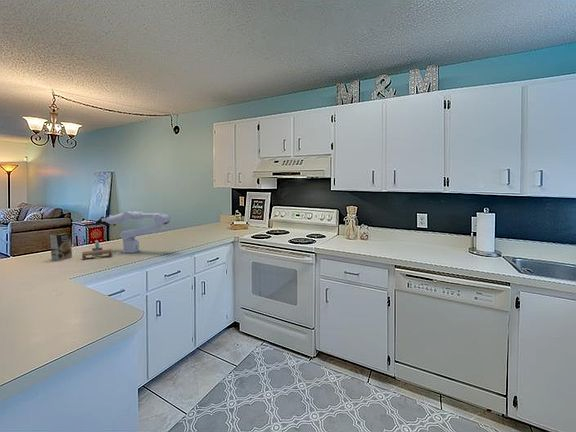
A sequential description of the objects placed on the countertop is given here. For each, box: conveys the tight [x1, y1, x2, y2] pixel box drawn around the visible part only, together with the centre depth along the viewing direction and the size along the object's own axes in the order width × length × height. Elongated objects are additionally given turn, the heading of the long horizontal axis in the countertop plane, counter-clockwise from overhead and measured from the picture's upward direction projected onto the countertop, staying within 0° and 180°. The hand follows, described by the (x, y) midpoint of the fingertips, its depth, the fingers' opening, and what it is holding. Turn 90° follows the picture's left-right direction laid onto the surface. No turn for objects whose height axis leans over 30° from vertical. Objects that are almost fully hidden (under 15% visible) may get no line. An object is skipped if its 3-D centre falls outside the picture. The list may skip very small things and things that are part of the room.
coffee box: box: [49, 232, 73, 261], centre depth 192 cm, size 9×6×16 cm
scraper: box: [91, 240, 104, 257], centre depth 208 cm, size 15×6×7 cm, turn 32°
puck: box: [92, 255, 103, 260], centre depth 196 cm, size 5×5×1 cm
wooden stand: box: [81, 248, 113, 261], centre depth 196 cm, size 7×16×4 cm, turn 123°
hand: (100, 223), depth 213 cm, fingers open, 7 cm apart
